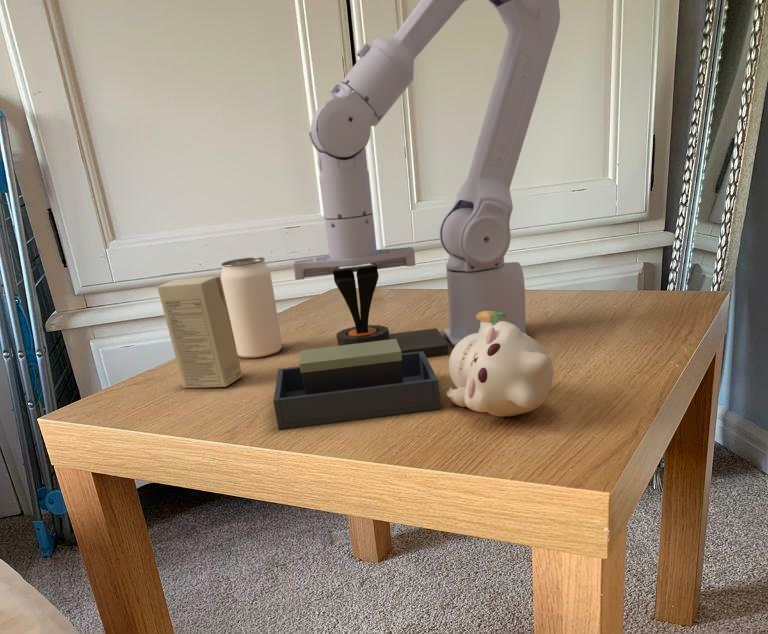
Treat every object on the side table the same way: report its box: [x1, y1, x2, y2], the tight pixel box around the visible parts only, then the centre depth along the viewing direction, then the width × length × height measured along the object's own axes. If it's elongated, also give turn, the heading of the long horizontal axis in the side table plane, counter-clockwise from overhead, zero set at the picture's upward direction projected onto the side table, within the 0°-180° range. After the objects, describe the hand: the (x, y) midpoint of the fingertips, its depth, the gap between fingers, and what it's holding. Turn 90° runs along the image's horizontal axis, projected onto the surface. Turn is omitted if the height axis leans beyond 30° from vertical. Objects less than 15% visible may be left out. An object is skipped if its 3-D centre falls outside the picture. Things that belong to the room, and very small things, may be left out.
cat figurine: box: [445, 311, 554, 417], centre depth 71 cm, size 10×8×15 cm
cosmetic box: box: [157, 275, 243, 389], centre depth 89 cm, size 6×4×12 cm
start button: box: [348, 328, 377, 336], centre depth 95 cm, size 4×4×2 cm
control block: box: [336, 324, 449, 358], centre depth 95 cm, size 13×9×3 cm
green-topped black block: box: [299, 339, 403, 395], centre depth 78 cm, size 10×5×5 cm, turn 95°
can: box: [220, 256, 283, 360], centre depth 100 cm, size 6×6×12 cm
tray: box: [272, 351, 441, 430], centre depth 79 cm, size 16×11×3 cm
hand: (362, 331), depth 94 cm, fingers closed, pressing on start button
